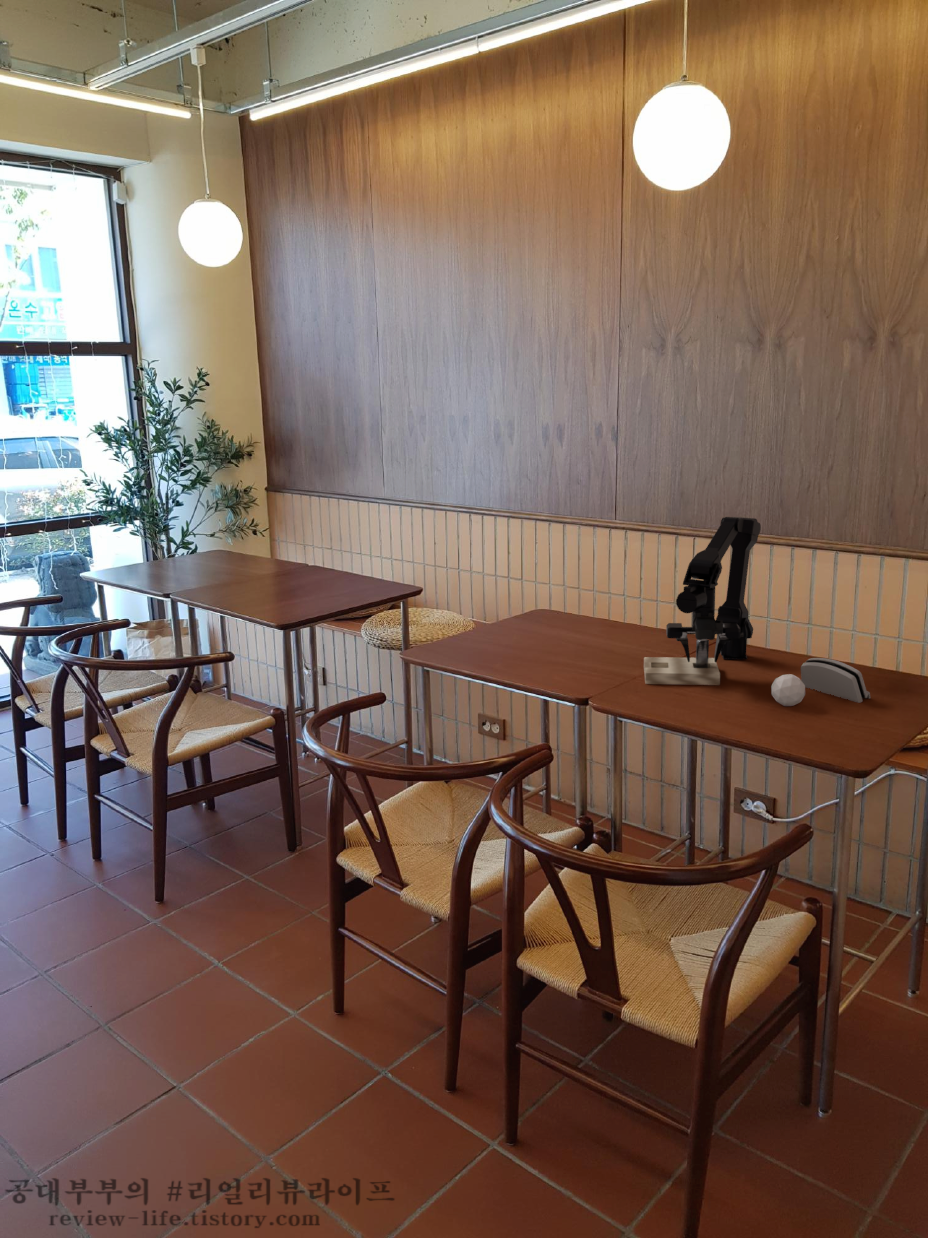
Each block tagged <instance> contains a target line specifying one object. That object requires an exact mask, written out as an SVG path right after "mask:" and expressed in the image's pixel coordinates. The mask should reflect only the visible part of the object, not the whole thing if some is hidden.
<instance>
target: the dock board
mask: <svg viewBox="0 0 928 1238" xmlns="http://www.w3.org/2000/svg"><path fill="white" fill-rule="evenodd" d="M643 672H644V683H645V685H692V686H693V685H694V686H695V685H696V686H697V685H699V686H700V685H701V686H703V685H704V686H720V685H721V672H720V669H719V667H718V663H717V662H715V661H714V657H708V668H696V657H690V662H688V660H687V657H675V656H674V657H672V656H671V657H666V656H665V657H664V656H658V657H655V656H653V657H651V656H647V657H646V656H645V657H643Z"/></svg>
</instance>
